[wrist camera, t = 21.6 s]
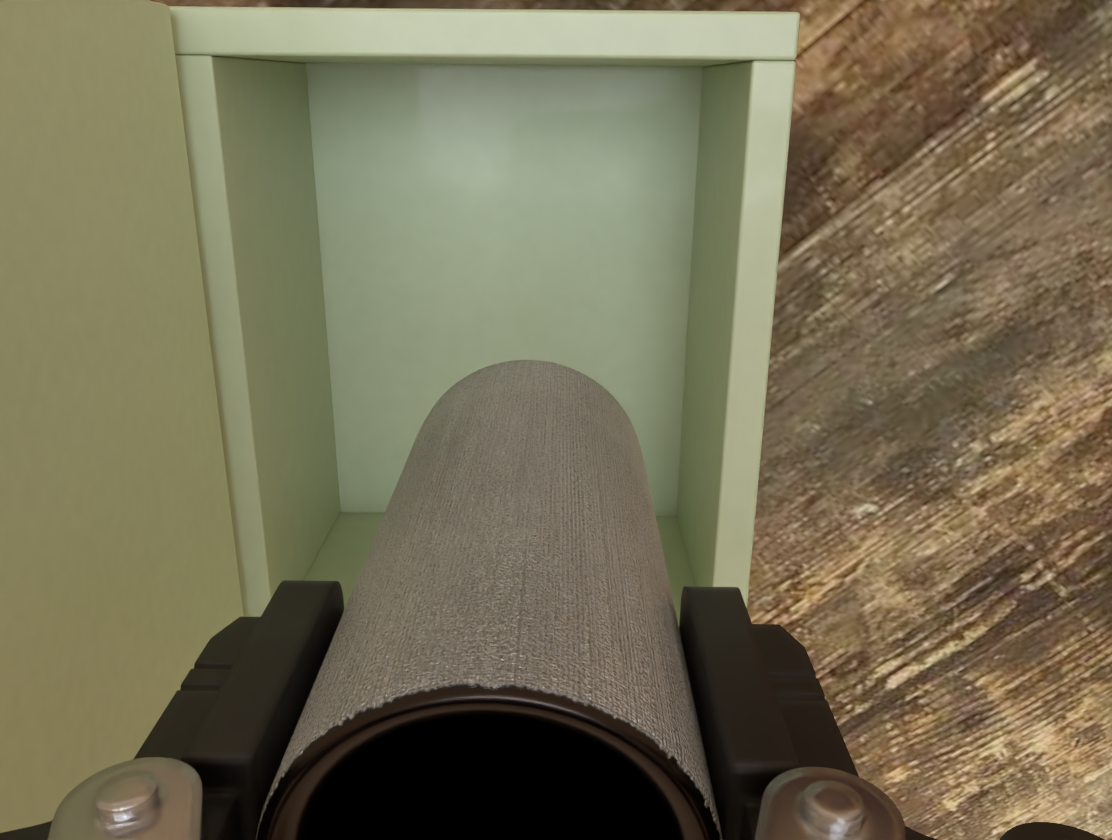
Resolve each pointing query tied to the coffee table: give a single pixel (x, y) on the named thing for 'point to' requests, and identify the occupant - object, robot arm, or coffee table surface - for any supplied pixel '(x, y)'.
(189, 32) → the chest
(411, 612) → the planter
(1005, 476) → the coffee table surface
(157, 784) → the robot arm
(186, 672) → the lid
